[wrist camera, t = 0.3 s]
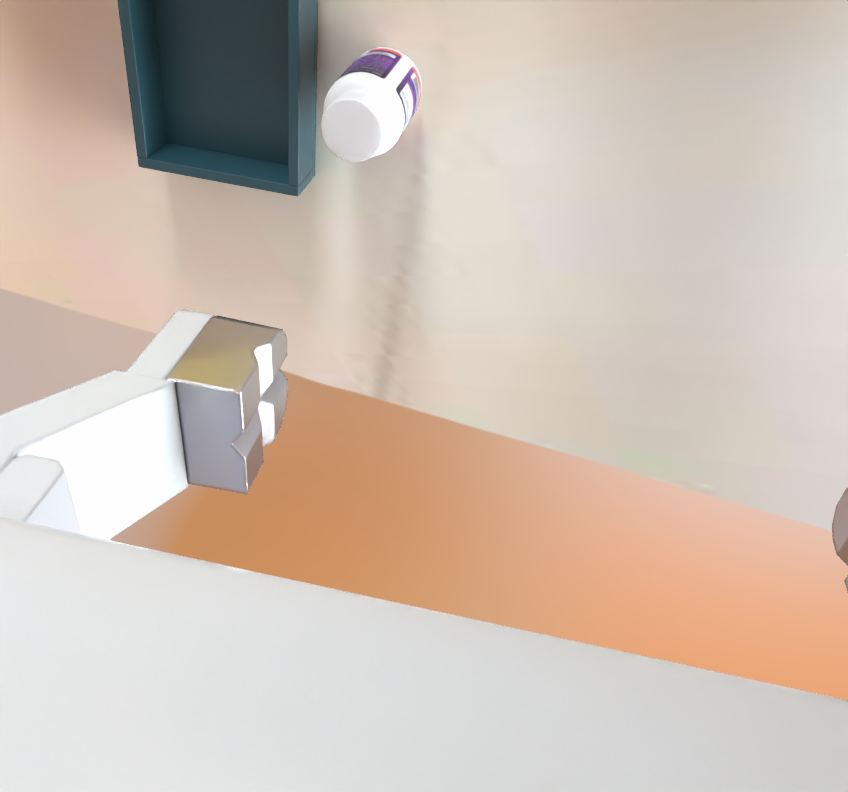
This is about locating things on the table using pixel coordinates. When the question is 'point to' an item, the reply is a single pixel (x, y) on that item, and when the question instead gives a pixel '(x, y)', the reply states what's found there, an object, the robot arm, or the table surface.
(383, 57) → the pill bottle
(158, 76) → the tote
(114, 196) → the table surface
